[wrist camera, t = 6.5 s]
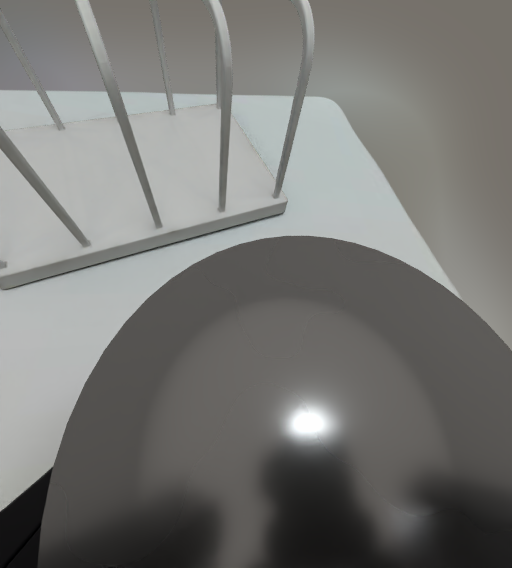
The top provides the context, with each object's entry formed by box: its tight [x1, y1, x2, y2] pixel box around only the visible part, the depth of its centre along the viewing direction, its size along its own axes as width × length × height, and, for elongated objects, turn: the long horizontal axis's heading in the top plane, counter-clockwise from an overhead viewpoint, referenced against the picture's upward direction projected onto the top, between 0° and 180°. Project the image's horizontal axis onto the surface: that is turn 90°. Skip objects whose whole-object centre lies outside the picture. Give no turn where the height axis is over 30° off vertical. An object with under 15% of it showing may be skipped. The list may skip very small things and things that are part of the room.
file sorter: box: [0, 0, 315, 289], centre depth 20 cm, size 25×17×16 cm
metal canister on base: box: [37, 236, 512, 568], centre depth 8 cm, size 6×6×12 cm
